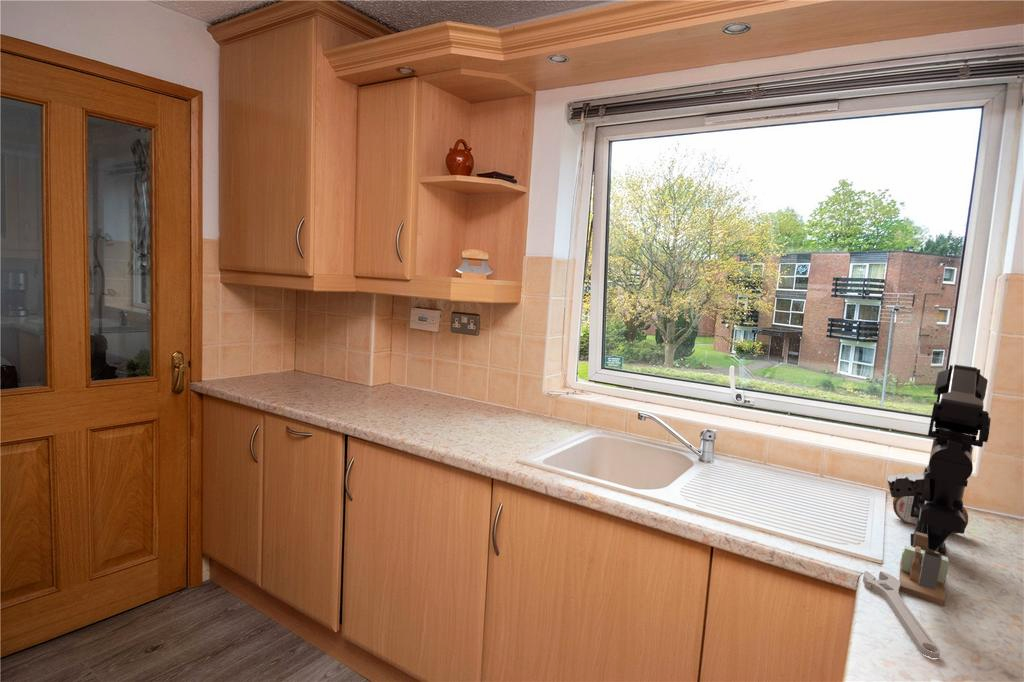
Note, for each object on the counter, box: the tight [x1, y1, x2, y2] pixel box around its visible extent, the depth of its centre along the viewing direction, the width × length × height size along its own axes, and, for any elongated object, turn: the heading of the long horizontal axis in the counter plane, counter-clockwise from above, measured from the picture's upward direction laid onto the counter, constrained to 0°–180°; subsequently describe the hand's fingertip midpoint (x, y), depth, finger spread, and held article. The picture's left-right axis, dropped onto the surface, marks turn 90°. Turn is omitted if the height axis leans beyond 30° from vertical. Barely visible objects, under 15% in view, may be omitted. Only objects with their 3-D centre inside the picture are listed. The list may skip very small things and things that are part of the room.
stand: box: [898, 532, 947, 607], centre depth 113 cm, size 14×7×8 cm, turn 145°
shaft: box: [919, 550, 943, 590], centre depth 106 cm, size 11×2×6 cm, turn 145°
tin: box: [892, 496, 969, 535], centre depth 140 cm, size 15×3×8 cm, turn 56°
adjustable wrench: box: [862, 570, 941, 659], centre depth 102 cm, size 25×6×2 cm, turn 161°
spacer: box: [900, 544, 950, 584], centre depth 114 cm, size 2×7×5 cm, turn 55°
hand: (931, 549), depth 106 cm, fingers closed
